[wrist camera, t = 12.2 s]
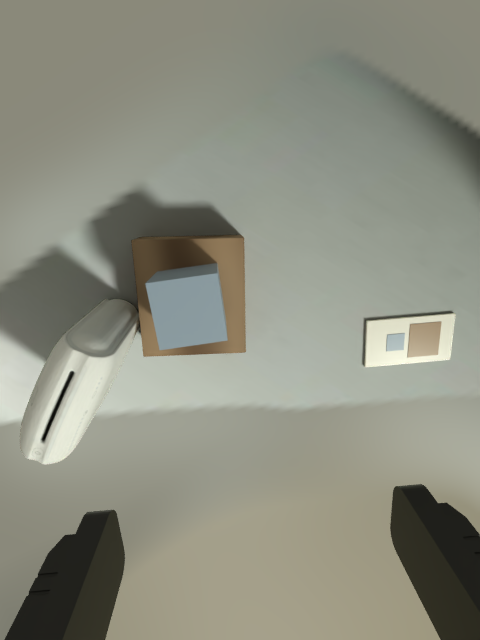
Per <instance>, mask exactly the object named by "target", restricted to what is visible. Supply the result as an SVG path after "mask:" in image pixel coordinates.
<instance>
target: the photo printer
mask: <svg viewBox="0 0 480 640" xmlns="http://www.w3.org/2000/svg"><path fill="white" fill-rule="evenodd" d="M139 322H140V318H139V313H138V312H137V310H136V308H135V307H134V306H133V305H132V304H130V303H129V302H127V301H125V300H121V299H112V300H108V299H105V300H103V301H102V302H101V303H100V304H99V305H97V306H96V307H95V308H94V309H93V310H92V311H90V312H89V313H88V314H87V315H86V316H84V317H83V318H82V319H81V320H80V321H79V322H77V323H76V324H75V325H74V326H73V327H71V328H70V329H69V330H68V331H67V332H66V333H65V334H64V335H63V336H62V337H61V338H60V340H59V341H58V342H57V343H56V345H55V346H54V348H53V349H52V351H51V353H50V355H49V357H48V359H47V361H46V363H45V365H44V367H43V369H42V371H41V373H40V376H39V378H38V380H37V382H36V385H35V387H34V389H33V392H32V394H31V397H30V399H29V402H28V405H27V407H26V410H25V413H24V417H23V420H22V423H21V430H20V448H21V451H22V453H23V455H24V456H25V457H26V458H27V459H32V460H36V461H39V462H40V463H42V464H52V463H56V462H59V461H61V460H63V459H65V458H66V457H67V456H68V455H69V454H70V453H71V452H72V451H73V450H74V449H75V447H76V446H77V444H78V443H79V441H80V439H81V438H82V436H83V434H84V433H85V431H86V429H87V428H88V426H89V424H90V422H91V421H92V419H93V417H94V416H95V414H96V412H97V411H98V409H99V407H100V405H101V404H102V402H103V400H104V399H105V397H106V395H107V393H108V391H109V390H110V388H111V386H112V384H113V382H114V380H115V378H116V376H117V374H118V372H119V370H120V368H121V366H122V364H123V362H124V360H125V358H126V355H127V353H128V351H129V349H130V346H131V344H132V341H133V339H134V337H135V334H136V332H137V329H138V326H139Z"/></svg>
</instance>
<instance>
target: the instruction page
mask: <svg viewBox="0 0 480 640" xmlns="http://www.w3.org/2000/svg"><path fill="white" fill-rule="evenodd" d="M454 322H455V313H447V314H435V315H423V316H412V317H400V318H388V319H377V320H366V335H365V360H364V366H365V367H375V366H386V365H397V364H408V363H419V362H430V361H441V360H450V356H451V348H452V339H453V331H454Z"/></svg>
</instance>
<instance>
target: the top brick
mask: <svg viewBox="0 0 480 640" xmlns="http://www.w3.org/2000/svg"><path fill="white" fill-rule="evenodd" d="M145 285H146V289H147V294H148V298H149V303H150V308H151V312H152V317H153V322H154V326H155V331H156V336H157V340H158V345H159V350H166V349H173V348H179V347H186V346H193V345H200V344H207V343H214V342H221V341H228V339H227V326H226V317H225V310H224V304H223V297H222V290H221V284H220V277H219V270H218V264H217V263H214V264H206V265H199V266H192V267H185V268H178V269H171V270H164V271H157V272H156V273H155V274H154V275H153V276H152V277H151V278H150V279H149V280H148V281H147V282H146V283H145Z"/></svg>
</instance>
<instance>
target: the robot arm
mask: <svg viewBox="0 0 480 640" xmlns="http://www.w3.org/2000/svg"><path fill="white" fill-rule="evenodd" d="M390 529H391V537H392V541H393V545H394V547H395V550H396V552H397V554H398V556H399V558H400V560H401V562H402V564H403V566H404V568H405V570H406V572H407V574H408V576H409V578H410V580H411V582H412V584H413V586H414V588H415V590H416V592H417V594H418V596H419V598H420V600H421V602H422V604H423V606H424V608H425V610H426V611H427V614H428V615H429V618H430V620H431V621H432V623H433V625H434V627H435V629H436V631H437V633H438V635H439V637H440V639H441V640H480V535H479V533H478V532H477V531H476V530H475V528H474V527H473V526H472V524H471V523H470V522H469V521H468V519H467V518H466V517H465V516H464V515H462V514H461V513H460V512H458V511H457V510H456V509H454V508H453V507H452V506H450V505H449V504H448V503H437V501H436V500H435V499H434V497H433V496H432V495H431V493H430V492H429V491H428V489H427V488H426V487H425V486H424V485H422V484H419V485H407V486H396V487H395V488H394V490H393V501H392V513H391V527H390ZM124 561H125V554H124V546H123V542H122V537H121V532H120V527H119V522H118V518H117V513H116V511H115V510H106V511H94V512H87V513H86V514H85V515H84V517H83V519H82V521H81V523H80V525H79V527H78V530H77V532H76V534H73V535H65V536H64V537H63V538H62V539H61V540H60V541H59V542H58V543H57V544H56V546H55V547H54V548H53V549H52V550H51V551H50V552H49V553H48V555H47V557H46V559H45V561H44V563H43V565H42V567H41V569H40V571H39V573H38V577H37V578H36V579H35V581H34V583H33V585H32V587H31V589H30V591H29V595H28V596H27V597H26V598H25V600H24V603H23V604H22V607H21V608H20V610H19V612H18V614H17V616H16V618H15V620H14V622H13V624H12V626H11V628H10V630H9V632H8V634H7V636H6V638H5V640H105V638H106V634H107V631H108V627H109V623H110V620H111V616H112V612H113V609H114V605H115V602H116V598H117V594H118V591H119V587H120V583H121V580H122V575H123V570H124Z"/></svg>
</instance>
